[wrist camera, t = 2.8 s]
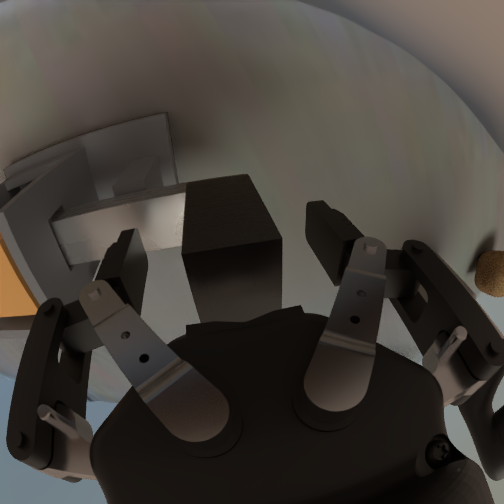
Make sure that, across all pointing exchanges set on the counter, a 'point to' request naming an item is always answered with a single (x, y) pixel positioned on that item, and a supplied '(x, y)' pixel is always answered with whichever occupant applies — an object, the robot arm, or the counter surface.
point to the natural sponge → (491, 273)
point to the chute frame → (75, 200)
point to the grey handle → (191, 240)
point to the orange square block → (14, 288)
